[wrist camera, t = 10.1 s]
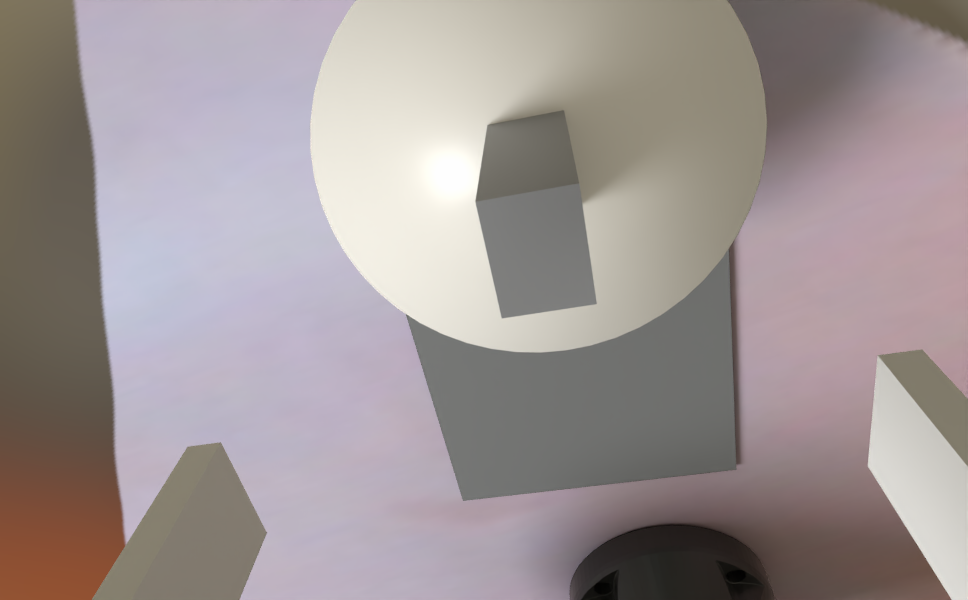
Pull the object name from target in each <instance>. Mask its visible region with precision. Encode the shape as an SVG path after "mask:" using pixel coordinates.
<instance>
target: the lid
mask: <svg viewBox="0 0 968 600" xmlns="http://www.w3.org/2000/svg"><path fill="white" fill-rule="evenodd" d="M310 131H311V157H312V164H313V172H314V179H315V182H316V186H317V190H318V193H319V197H320V201H321V204H322V207H323V209H324V212H325V214H326V217H327V219H328V221H329V224H330V226H331V229H332V231H333V233H334V234H335V236H336V238H337V239H338V241H339V243H340V245H341V246H342V248H343V250H344V252H345V253H346V255H347V256H348V257H349V259H350V260H351V261H352V263H353V264H354V265H355V267H356V268H357V269H358V271H359V272H360V273H361V275H362V276H363V277H364V278H365V279H366V280H367V281H368V282H369V283H370V284H371V285H372V286H373V287H374V288H375V289H376V290H377V291H378V292H379V293H380V294H381V295H382V296H383V297H385V298H386V299H387V300H388V301H389V302H391V303H392V304H393V305H394V306H395V307H397V308H398V309H399V310H401V311H402V312H404V313H405V314H407V315H408V316H410V317H412V318H413V319H415V320H416V321H418V322H419V323H421V324H423V325H425V326H427V327H429V328H431V329H433V330H435V331H437V332H439V333H441V334H443V335H446V336H449V337H452V338H454V339H457V340H460V341H463V342H465V343H469V344H473V345H477V346H481V347H486V348H490V349H496V350H504V351H512V352H539V353H542V352H553V351H564V350H571V349H576V348H581V347H586V346H591V345H594V344H597V343H601V342H604V341H607V340H610V339H613V338H616V337H619V336H621V335H623V334H626V333H628V332H630V331H632V330H635V329H637V328H639V327H641V326H643V325H645V324H646V323H648V322H650V321H652V320H653V319H655V318H657V317H658V316H660V315H662V314H664V313H665V312H666V311H668V310H669V309H670V308H672V307H673V306H674V305H676V304H677V303H678V302H680V301H681V300H682V299H684V298H685V297H686V296H687V295H688V294H689V293H690V292H691V291H692V290H694V289H695V288H696V287H697V286H698V285H699V284H700V283H701V282H702V281H703V280H704V279H705V278H706V277H707V276H708V275H709V273H710V272H711V271H712V270H713V269H714V267H715V266H716V265H717V264H718V263H719V261H720V260H721V259H722V258H723V256H724V255H725V253H726V252H727V250H728V249H729V247H730V246H731V244H732V243H733V241H734V240H735V238H736V237H737V235H738V233H739V231H740V229H741V227H742V225H743V223H744V221H745V219H746V217H747V215H748V213H749V211H750V208H751V205H752V202H753V199H754V196H755V194H756V191H757V188H758V185H759V182H760V177H761V172H762V167H763V162H764V157H765V148H766V133H767V116H766V102H765V92H764V87H763V83H762V78H761V74H760V69H759V65H758V61H757V59H756V56H755V54H754V51H753V48H752V46H751V43H750V40H749V38H748V35H747V33H746V31H745V29H744V28H743V26H742V24H741V22H740V20H739V19H738V17H737V15H736V13H735V11H734V10H733V8H732V6H731V5H730V3H729V2H728V1H727V0H356V1H355V3H354V4H353V5H352V6H351V8H350V9H349V11H348V13H347V14H346V16H345V18H344V19H343V21H342V23H341V24H340V26H339V28H338V29H337V31H336V33H335V34H334V37H333V39H332V41H331V44H330V46H329V48H328V51H327V53H326V55H325V58H324V60H323V62H322V66H321V69H320V73H319V77H318V80H317V84H316V88H315V92H314V98H313V106H312V114H311V122H310Z"/></svg>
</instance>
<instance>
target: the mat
mask: <svg viewBox="0 0 968 600" xmlns="http://www.w3.org/2000/svg"><path fill="white" fill-rule="evenodd" d="M406 316H407V319H408V323H409V326H410V329H411V332H412V336H413V339H414V342H415V345H416V349H417V352H418V355H419V358H420V362H421V365H422V368H423V371H424V375H425V378H426V381H427V385H428V388H429V391H430V394H431V398H432V401H433V404H434V407H435V411H436V414H437V417H438V420H439V424H440V427H441V430H442V433H443V437H444V440H445V443H446V446H447V450H448V453H449V456H450V460H451V463H452V466H453V469H454V473H455V476H456V479H457V482H458V486H459V489H460V492H461V495H462V499H463V501H466V500H474V499H483V498H492V497H501V496H509V495H518V494H527V493H536V492H544V491H553V490H562V489H571V488H579V487H588V486H597V485H606V484H614V483H623V482H632V481H641V480H650V479H658V478H667V477H676V476H685V475H693V474H702V473H711V472H720V471H728V470H736V444H735V415H734V385H733V356H732V326H731V297H730V268H729V249H728V250H727V252H726V253H725V255H724V256H723V258H722V259H721V260H720V261H719V263H718V264H717V265H716V266H715V267H714V269H713V270H712V271H711V272H710V273H709V275H708V276H707V277H706V278H705V279H704V280H703V281H702V282H701V283H700V284H699V285H698V286H697V287H696V288H695V289H694V290H692V291H691V292H690V293H689V294H688V295H687V296H686V297H685V298H684V299H682V300H681V301H680V302H678V303H677V304H676V305H674V306H673V307H672V308H670V309H669V310H668V311H666V312H665V313H664V314H662V315H660V316H658V317H657V318H655V319H653V320H652V321H650V322H648V323H646V324H645V325H643V326H641V327H639V328H637V329H635V330H632V331H630V332H628V333H626V334H623V335H621V336H619V337H616V338H613V339H610V340H607V341H604V342H601V343H597V344H594V345H591V346H586V347H581V348H576V349H571V350H564V351H553V352H542V353H539V352H512V351H504V350H496V349H490V348H486V347H481V346H477V345H473V344H469V343H465V342H463V341H460V340H457V339H454V338H452V337H449V336H446V335H443V334H441V333H439V332H437V331H435V330H433V329H431V328H429V327H427V326H425V325H423V324H421V323H419V322H418V321H416V320H415V319H413V318H412V317H410V316H408V315H407V314H406Z"/></svg>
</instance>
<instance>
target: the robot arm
mask: <svg viewBox="0 0 968 600" xmlns="http://www.w3.org/2000/svg"><path fill="white" fill-rule="evenodd" d="M868 467H869V469H870V470H871V472H872V474H873V475H874V477H875V478H876V480H877V482H878V483H879V485H880V486H881V488H882V490H883V491H884V493H885V494H886V496H887V497H888V499H889V501H890V502H891V504H892V505H893V507H894V509H895V510H896V512H897V513H898V515H899V517H900V518H901V520H902V521H903V523H904V525H905V526H906V528H907V529H908V531H909V532H910V534H911V536H912V537H913V539H914V540H915V542H916V544H917V545H918V547H919V548H920V550H921V552H922V553H923V555H924V556H925V558H926V560H927V561H928V563H929V564H930V566H931V567H932V569H933V571H934V572H935V574H936V575H937V577H938V579H939V580H940V582H941V583H942V585H943V587H944V588H945V590H946V591H947V593H948V595H949V596H950V598H951V599H952V600H968V399H967V398H966V397H965V396H964V394H963V393H962V392H961V391H960V390H959V389H958V388H957V387H956V386H955V385H954V384H953V383H952V381H951V380H950V379H949V378H948V377H947V376H946V375H945V374H944V373H943V372H942V371H941V370H940V368H939V367H938V366H937V365H936V364H935V363H934V362H933V361H932V360H931V359H930V358H929V357H928V355H927V354H926V353H925V352H924V351H923V350H915V351H908V352H900V353H892V354H885V355H878V359H877V370H876V381H875V392H874V403H873V414H872V425H871V436H870V447H869V458H868ZM266 533H267V532H266V531H265V529H264V527H263V525H262V523H261V521H260V519H259V517H258V515H257V513H256V511H255V509H254V507H253V505H252V503H251V501H250V499H249V497H248V495H247V493H246V491H245V489H244V487H243V485H242V483H241V481H240V479H239V477H238V475H237V473H236V471H235V469H234V467H233V465H232V463H231V461H230V460H229V458H228V456H227V454H226V452H225V450H224V448H223V446H222V444H221V443H213V444H206V445H198V446H190V447H187V449H186V450H185V452H184V453H183V455H182V457H181V458H180V460H179V461H178V463H177V465H176V466H175V468H174V469H173V471H172V473H171V474H170V476H169V477H168V479H167V481H166V482H165V484H164V485H163V487H162V489H161V490H160V492H159V493H158V495H157V497H156V498H155V500H154V501H153V503H152V505H151V506H150V508H149V509H148V511H147V513H146V514H145V516H144V517H143V519H142V521H141V522H140V524H139V525H138V527H137V529H136V530H135V532H134V533H133V535H132V537H131V538H130V540H129V541H128V543H127V544H126V546H125V548H124V549H123V551H122V552H121V554H120V556H119V557H118V559H117V560H116V562H115V564H114V565H113V567H112V569H111V570H110V572H109V573H108V575H107V576H106V578H105V580H104V581H103V583H102V584H101V586H100V588H99V589H98V591H97V592H96V594H95V596H94V597H93V599H92V600H239V599H240V597H241V594H242V592H243V589H244V587H245V585H246V582H247V580H248V577H249V575H250V572H251V570H252V568H253V565H254V563H255V560H256V558H257V555H258V553H259V551H260V548H261V546H262V543H263V541H264V538H265V536H266ZM570 600H774V595H773V592H772V589H771V586H770V583H769V581H768V578H767V575H766V572H765V570H764V567H763V565H762V564H761V562H760V560H759V559H758V558H757V556H756V555H755V554H754V553H753V552H752V551H751V550H750V549H749V548H747V547H746V546H745V545H743V544H742V543H740V542H739V541H737V540H735V539H733V538H731V537H729V536H727V535H724V534H722V533H719V532H716V531H713V530H708V529H704V528H699V527H691V526H659V527H652V528H646V529H641V530H637V531H633V532H630V533H627V534H624V535H621V536H619V537H617V538H614V539H612V540H610V541H608V542H607V543H605V544H603V545H602V546H600V547H599V548H597V549H596V550H594V551H593V552H592V553H591V554H590V555H588V556H587V557H586V558H585V559H584V560H583V562H582V563H581V564H580V565H579V567H578V568H577V570H576V572H575V573H574V576H573V578H572V581H571V585H570Z"/></svg>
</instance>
